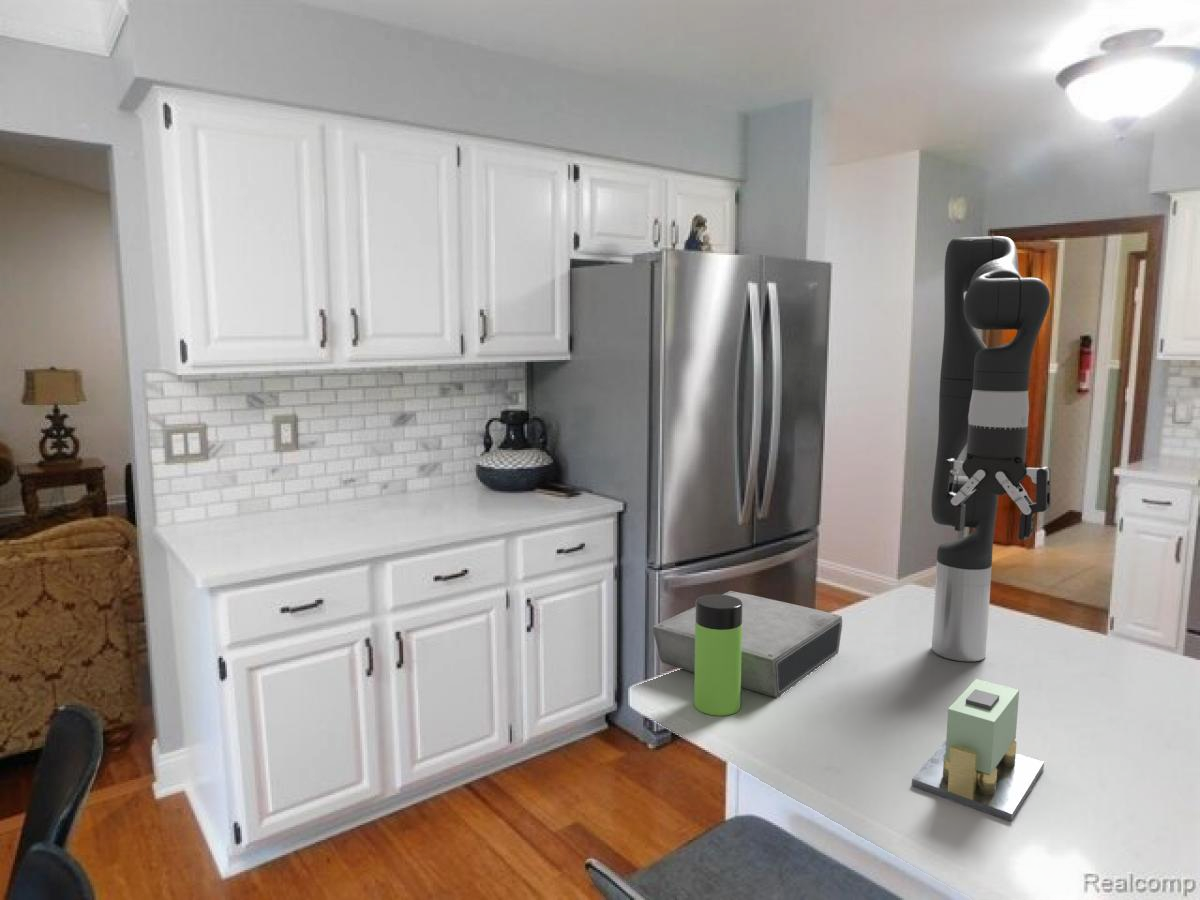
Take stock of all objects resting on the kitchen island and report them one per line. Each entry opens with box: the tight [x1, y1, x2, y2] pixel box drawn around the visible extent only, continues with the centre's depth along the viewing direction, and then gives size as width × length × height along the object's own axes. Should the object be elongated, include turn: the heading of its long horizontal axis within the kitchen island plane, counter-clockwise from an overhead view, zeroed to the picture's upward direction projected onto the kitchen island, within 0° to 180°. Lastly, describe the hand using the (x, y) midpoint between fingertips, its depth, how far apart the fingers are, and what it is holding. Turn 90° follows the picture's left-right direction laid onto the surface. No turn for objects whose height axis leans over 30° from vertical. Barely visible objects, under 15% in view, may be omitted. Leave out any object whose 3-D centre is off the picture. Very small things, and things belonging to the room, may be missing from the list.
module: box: [945, 678, 1020, 775], centre depth 106 cm, size 12×6×8 cm, turn 140°
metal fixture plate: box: [911, 739, 1045, 822], centre depth 107 cm, size 16×12×7 cm
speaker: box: [652, 590, 843, 698], centre depth 147 cm, size 24×8×30 cm
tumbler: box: [693, 593, 743, 717], centre depth 127 cm, size 8×8×17 cm
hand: (990, 534), depth 116 cm, fingers open, 8 cm apart
